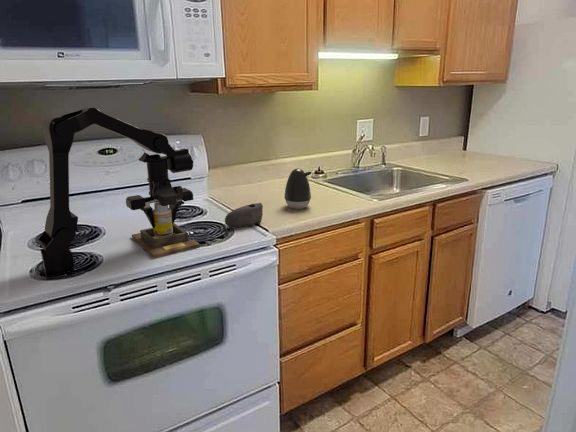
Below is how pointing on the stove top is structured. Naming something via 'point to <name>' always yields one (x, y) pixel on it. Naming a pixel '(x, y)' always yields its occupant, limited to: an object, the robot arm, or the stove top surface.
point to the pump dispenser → (297, 189)
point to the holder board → (164, 242)
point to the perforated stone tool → (245, 215)
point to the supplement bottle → (162, 220)
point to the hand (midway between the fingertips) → (163, 225)
